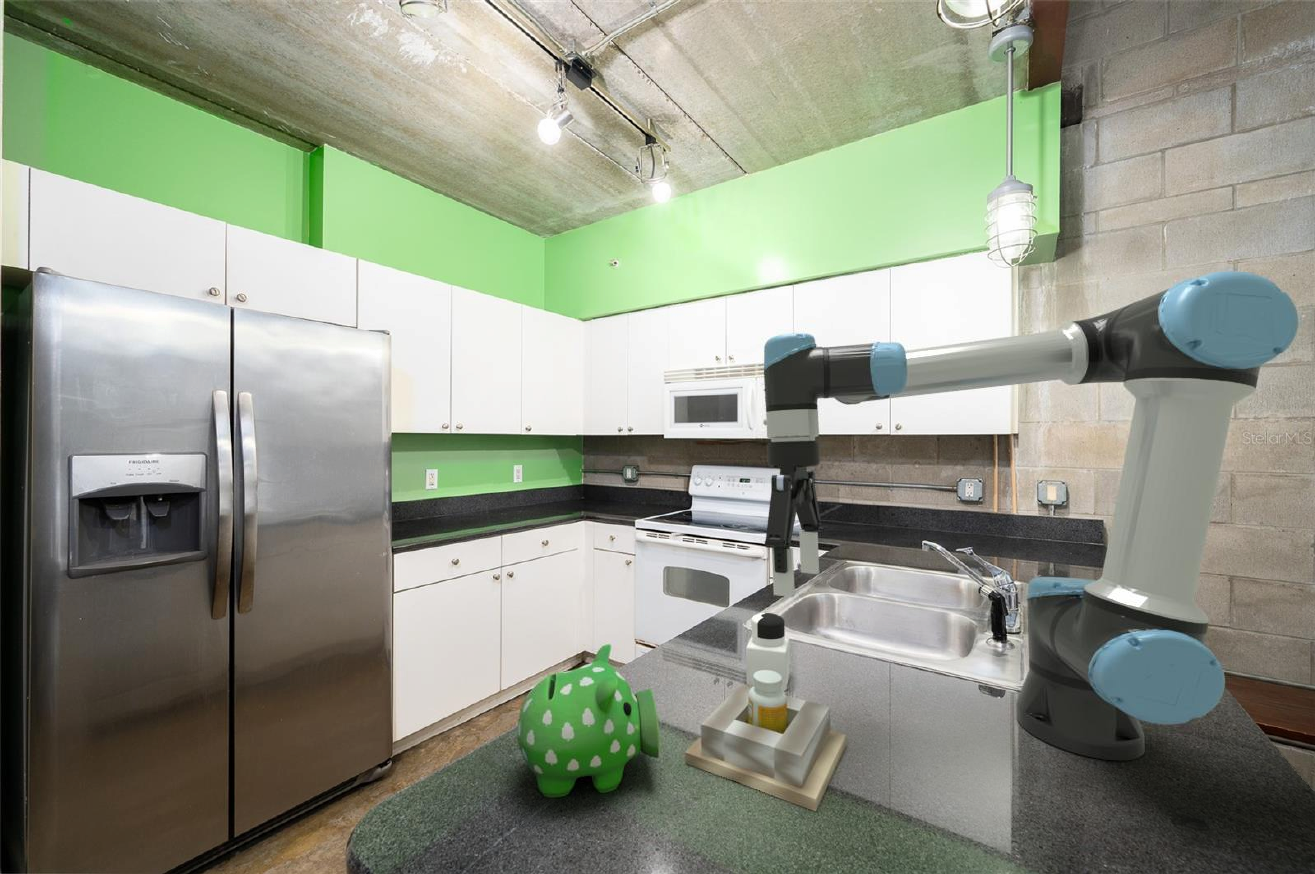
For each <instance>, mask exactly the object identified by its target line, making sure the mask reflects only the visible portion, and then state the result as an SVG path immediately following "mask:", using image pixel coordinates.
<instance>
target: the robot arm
mask: <svg viewBox="0 0 1315 874" xmlns="http://www.w3.org/2000/svg"><path fill="white" fill-rule="evenodd" d="M1298 329H1299V316H1298V311H1297V308H1296V305H1295V303H1294V302H1293V300H1292V298H1291V297H1290V296H1289V294H1288V293H1287V292H1286V291H1283V290H1281V288H1279V287H1278V286H1277V284H1276V283H1275V282H1274V281H1272V280H1270V279H1269V278H1266V277H1264V276H1261V275H1258V274H1256V273H1251V272H1246V271H1240V270H1225V271H1223V270H1221V271H1215V272H1211V273H1208V274H1204V275H1202V276H1201V275H1200V276H1197V277H1193V278H1191V277H1190V278H1188V279H1185V280H1182V281H1180V282H1178V283H1176V284H1174V285H1173V286H1171V287H1170V288H1167V289H1165V290H1163V291H1160V292H1158V293H1155V294H1153V295H1149V296H1147V297H1145V298H1142V299H1139V300H1137V301H1135V302H1132V303H1130V304H1128V305H1125V306H1122V307H1120V308H1117V309H1115V310H1114V309H1113V311H1110V312H1106V313H1105V314H1104V313H1103V314H1100V315H1097V316H1094V317H1090V318H1086V319H1080V320H1074V321H1067V322H1064V323H1063V324H1061V325H1060V326H1059V327H1058V328H1057V329H1056V330H1051V331H1042V332H1034V333H1028V334H1019V335H1013V336H1012V335H1011V336H1006V337H1005V336H1004V337H997V338H991V339H984V340H976V341H974V340H973V341H968V342H963V343H962V342H960V343H954V344H946V345H939V346H931V347H924V348H916V349H910V350H905V348H904V346H903V345H902V344H901V343H900V342H897V341H895V342H880V341H874V342H871V343H861V344H850V345H837V346H828V347H827V346H825V347H824V346H823V347H822V346H817V343H816V338H815V336H813V335H812V334H810V333H804V332H803V333H795V332H793V333H785V334H780V335H779V334H778V335H775V336H773V337H771V338H769V339H768V340H767V341H766V343H765V344H764V348H763V349H764V350H763V353H764V355H763V365H764V367H763V379H764V399H765V417H766V418H765V419H763V421H762V423H763V425H764V426H766V437H767V438H768V439H771V440H770V441H771V442H767V445H766V453H767V457H766V458H767V465H768V467H771V468H779V474H772V475H771V478H770V480H771V481H770V483H771V485H770V487H771V492H770V498H769V499H770V500H769V511H768V519H767V525H766V532H765V533H766V534H765V539H764V540H765V541H764V547H765V548H769V549H771V555H772V557H771V559H772V562H771V563H772V581H773V583H772V584H773V585H772V587H773V588H772V589H773V590H772V591H773V596H781V597H789V598H794V597H795V596H796V595H795V594H796V593H795V591H796V589H795V575H794V574H795V571H794V570H795V568H794V567H795V566H794V548H793V547H791V542H792V537H793V532H794V525H795V521H796V516H797V519H798V521H799V524H800V525H799V526H800V528H801V530H800V531H799V532H798V534H799V536H798V537H799V555H800V573H801V574H802V573H804V574H814V575H819V574H820V562H819V561H820V559H819V535H818V532H823V531H824V524H822V520H821V515H820V514H821V513H820V509H819V504H818V503H819V501H818V497H817V492H816V485H815V472H814V470H813V469H808V467H809V468H811V467H817V466H819V465H820V463H821V460H820V459H821V458H820V456H821V455H820V454H821V453H820V443H819V442H818V441H817V440H816V438H817V437H819V435H820V429H819V427H820V426H819V423H820V422H819V410H818V409H819V408H818V407H819V406H818V399H835V400H836V401H838V402H839V403H841V404H844V405H859V404H861V403H865V402H872V401H882V400H887V399H895V398H896V399H898V398H904V397H914V396H924V395H933V394H941V393H949V392H952V393H953V392H959V391H968V390H975V389H976V390H977V389H985V388H995V387H1005V386H1014V385H1022V384H1030V383H1040V382H1049V381H1059V380H1060V381H1061V382H1063V383H1064V384H1066V385H1068V386H1073V385H1074V386H1075V385H1084V384H1095V383H1099V384H1100V383H1101V384H1103V383H1123V387H1124V388H1125V389H1126V390H1127V391H1128V392H1129V393H1130V394H1131V395H1132V396H1133V397H1134V399H1135V403H1134V408H1133V413H1132V419H1131V424H1130V429H1129V434H1128V438H1127V439H1128V440H1127V445H1126V450H1125V455H1124V460H1123V465H1122V471H1121V476H1120V481H1119V486H1118V491H1117V496H1116V502H1115V507H1114V512H1113V516H1112V517H1113V518H1112V523H1111V527H1110V533H1109V537H1108V542H1107V549H1106V554H1105V558H1104V564H1103V568H1102V574H1101V577H1100V578H1099V579H1097V580H1095V579H1085V578H1075V577H1060V576H1058V577H1057V576H1041V577H1040V576H1039V577H1038V576H1037V577H1034V578H1032V579H1031V580H1030V581H1029V582H1028V586H1027V596H1025V597H1026V601H1027V602H1026V603H1027V635H1028V637H1027V638H1028V640H1027V642H1028V672H1027V675H1026V676H1025V680H1024V682H1023V684H1022V686H1021V689H1020V692H1019V694H1018V696H1017V699H1016V707H1015V709H1016V712H1015V713H1016V719H1017V722H1018V723H1019V725H1021V726H1022V727H1023V728H1024V730H1025V731H1027V732H1029V733H1030V734H1031V735H1032V736H1034V737H1036V738H1038V739H1039V740H1042V741H1043V742H1044V743H1048V744H1050V745H1052V746H1054V747H1057V748H1059V749H1062V750H1064V751H1068V752H1071V753H1073V754H1077V755H1081V756H1084V757H1090V758H1095V759H1100V760H1108V761H1119V762H1122V761H1132V760H1136V759H1139V758H1141V757H1142V756H1143V755H1144V754H1145V751H1146V750H1145V749H1146V747H1145V732H1144V731H1143V730H1144V729H1143V728H1142V725H1141V721H1143V722H1146V723H1151V724H1156V725H1179V724H1180V725H1181V724H1185V723H1188V722H1189V721H1191V720H1193V719H1199V718H1201V717H1204V716H1205V715H1206V714H1208V713H1210V711H1212V710H1213V709H1215V707H1216V706H1217V705H1218V704H1219V702H1220V700H1221V698H1222V697H1223V695H1224V691H1225V687H1226V686H1225V685H1226V678H1225V672H1224V669H1223V667H1222V664H1221V663H1220V662H1219V661H1218V659H1217V657H1216V656H1215V654H1214V653H1213V652H1212V651H1211V648H1208V647H1207V646H1206V645H1205V643H1206V637H1207V632H1208V628H1209V623H1210V622H1209V621H1210V620H1209V619H1210V618H1209V617H1208V616H1207V614H1206V613H1205V612H1204V611H1203V610H1202V609H1201V608H1200V607H1199V606H1198V604H1197V603H1196V602H1195V597H1196V591H1197V587H1198V583H1199V577H1200V572H1201V567H1202V563H1203V558H1204V552H1205V546H1206V544H1207V543H1206V542H1207V537H1208V532H1209V526H1210V522H1211V517H1212V512H1213V507H1214V502H1215V497H1216V492H1217V487H1218V482H1219V478H1220V477H1219V476H1220V472H1221V467H1222V463H1223V458H1224V452H1225V448H1226V443H1227V438H1228V433H1229V427H1230V422H1231V417H1232V412H1233V407H1234V405H1236V404H1237V403H1239V402H1241V401H1242V400H1244V399H1246V398H1248V397H1249V396H1251V395H1253V394H1255V393H1256V390H1257V384H1258V379H1259V375H1260V370H1261V366H1263V365H1265V364H1266V363H1268V362H1270V361H1272V360H1274V359H1275V358H1277V357H1278V356H1279V355H1280V354H1283V353H1284V352H1285V351H1286V350H1287V349H1288V348H1289V347H1290V346H1291V345H1292V343H1293V341H1294V340H1295V338H1296V335H1297V332H1298Z"/></svg>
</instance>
